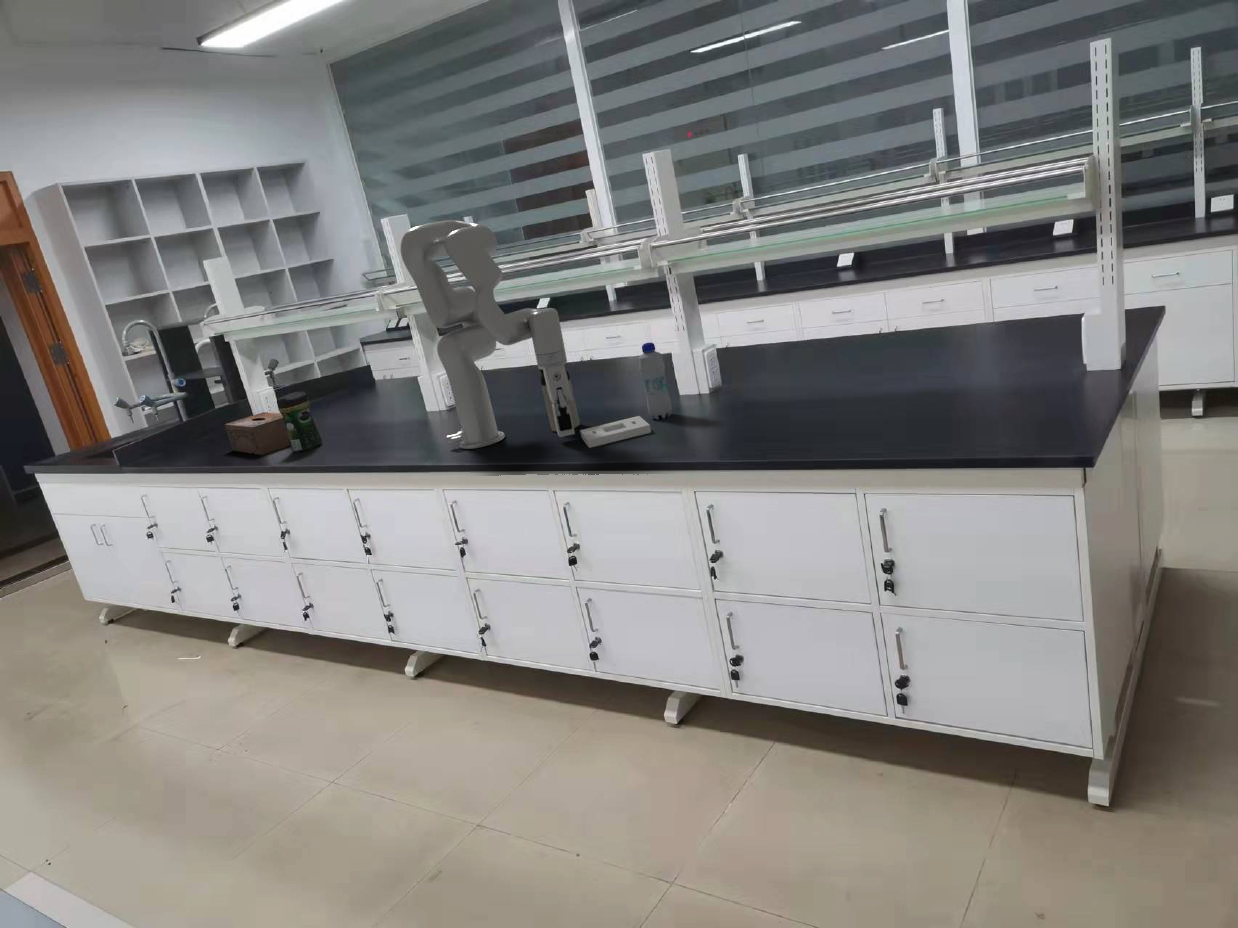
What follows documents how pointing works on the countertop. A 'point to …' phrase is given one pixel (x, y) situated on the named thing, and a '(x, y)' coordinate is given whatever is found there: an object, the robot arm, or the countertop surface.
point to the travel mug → (549, 403)
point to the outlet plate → (615, 431)
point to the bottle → (654, 382)
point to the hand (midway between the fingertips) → (564, 427)
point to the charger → (560, 433)
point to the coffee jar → (299, 421)
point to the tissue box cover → (258, 433)
